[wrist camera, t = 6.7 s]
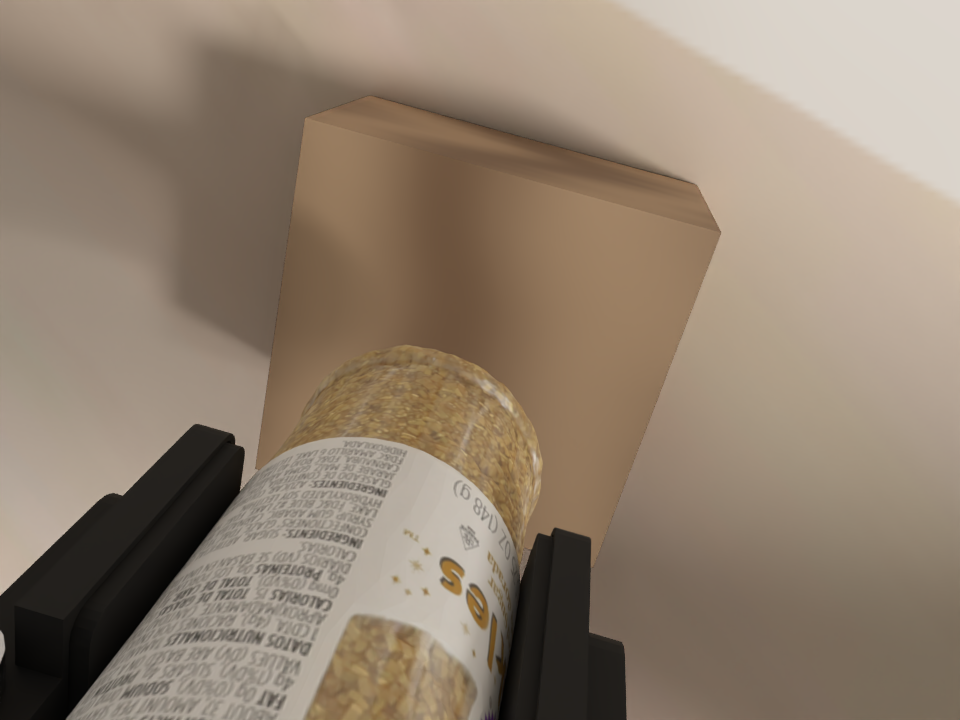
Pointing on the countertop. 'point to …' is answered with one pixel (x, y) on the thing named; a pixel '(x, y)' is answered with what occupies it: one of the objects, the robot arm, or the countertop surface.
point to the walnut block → (491, 283)
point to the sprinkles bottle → (352, 563)
